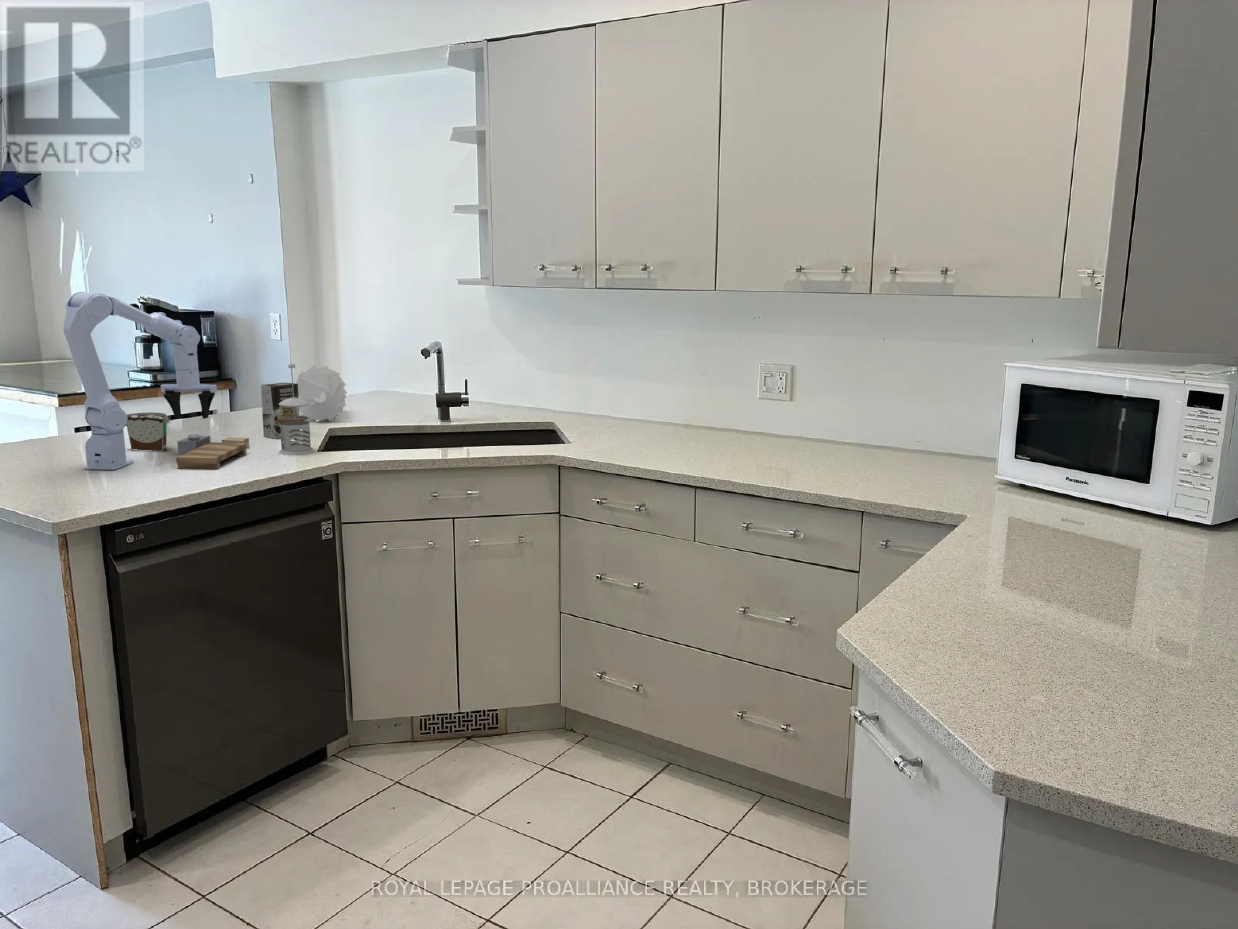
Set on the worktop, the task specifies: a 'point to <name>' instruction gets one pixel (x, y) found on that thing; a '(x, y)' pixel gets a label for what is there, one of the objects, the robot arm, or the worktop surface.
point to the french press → (294, 428)
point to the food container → (147, 431)
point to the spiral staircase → (321, 393)
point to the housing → (192, 443)
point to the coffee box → (277, 406)
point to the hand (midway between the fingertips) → (191, 417)
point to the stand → (210, 455)
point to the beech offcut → (236, 440)
